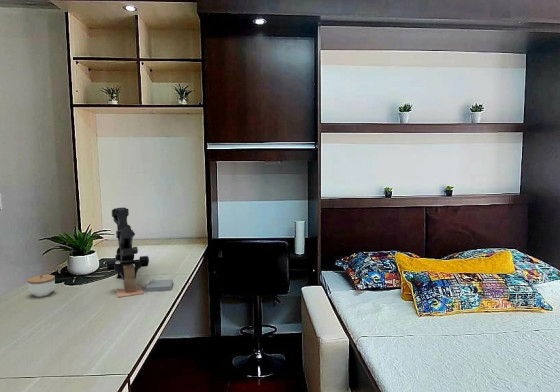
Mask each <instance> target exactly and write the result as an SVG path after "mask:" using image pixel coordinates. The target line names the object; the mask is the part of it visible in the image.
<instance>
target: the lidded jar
mask: <svg viewBox="0 0 560 392" xmlns="http://www.w3.org/2000/svg"><path fill="white" fill-rule="evenodd" d="M55 281H56V276H55V275H53V274H39V275H35V276H33V277H30V278H28V279H27V286H28V287H27V288H28V289H29V292H30V293H31V294H32V295H34V297H36V298H37V297H39V298H40V297H41V298H42V297H46V296H50V295H51V293H52V292H53V290H54V289H55V284H56V282H55Z"/></svg>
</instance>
